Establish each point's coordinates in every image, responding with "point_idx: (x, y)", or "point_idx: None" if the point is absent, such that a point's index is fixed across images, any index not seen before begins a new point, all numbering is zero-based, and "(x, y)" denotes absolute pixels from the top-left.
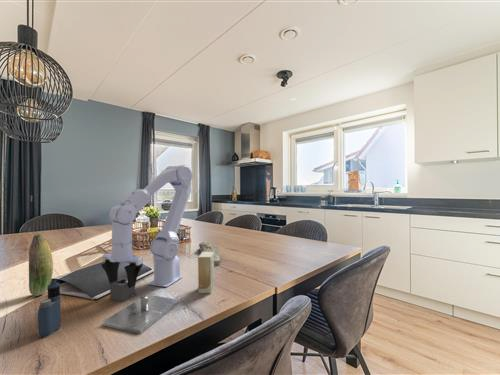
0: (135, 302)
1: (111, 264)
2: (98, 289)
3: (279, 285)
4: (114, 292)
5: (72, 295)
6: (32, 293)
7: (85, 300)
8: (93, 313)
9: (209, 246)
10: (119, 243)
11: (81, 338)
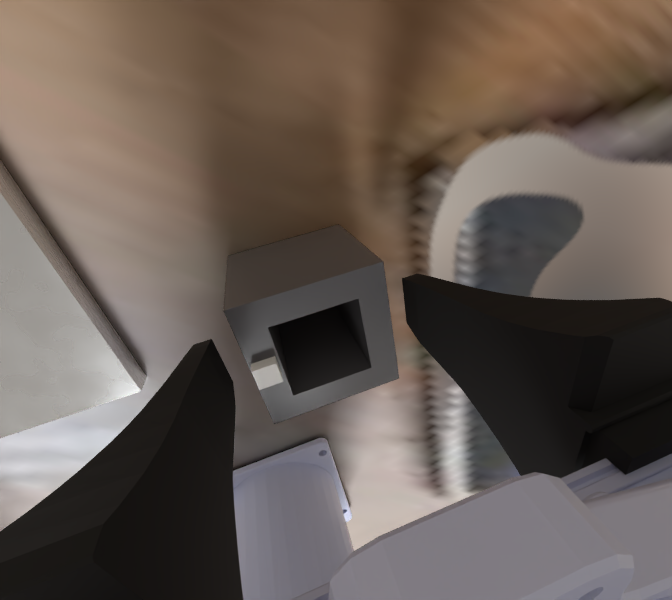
0: (54, 287)
1: (557, 411)
2: (527, 250)
3: None
4: (313, 251)
5: (610, 112)
6: None
7: (475, 117)
8: (207, 4)
9: None
10: None
11: None
